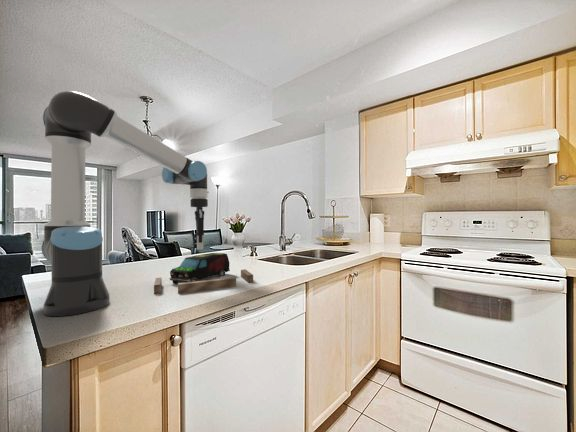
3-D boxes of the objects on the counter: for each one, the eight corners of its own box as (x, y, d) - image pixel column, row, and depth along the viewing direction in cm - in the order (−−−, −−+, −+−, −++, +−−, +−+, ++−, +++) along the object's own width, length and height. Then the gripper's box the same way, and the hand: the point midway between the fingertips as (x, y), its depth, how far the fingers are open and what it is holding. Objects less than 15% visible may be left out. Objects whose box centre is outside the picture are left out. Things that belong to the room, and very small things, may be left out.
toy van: (168, 284, 103) (168, 259, 103) (213, 272, 125) (213, 251, 125) (188, 287, 98) (187, 260, 98) (231, 274, 120) (230, 252, 120)
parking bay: (153, 296, 87) (153, 287, 87) (155, 285, 101) (155, 277, 101) (255, 284, 101) (255, 276, 101) (245, 276, 115) (245, 269, 115)
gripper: (209, 197, 117) (210, 250, 117) (205, 199, 129) (207, 247, 129) (191, 197, 114) (192, 251, 114) (189, 199, 126) (190, 248, 126)
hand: (200, 249), depth 122 cm, fingers closed
